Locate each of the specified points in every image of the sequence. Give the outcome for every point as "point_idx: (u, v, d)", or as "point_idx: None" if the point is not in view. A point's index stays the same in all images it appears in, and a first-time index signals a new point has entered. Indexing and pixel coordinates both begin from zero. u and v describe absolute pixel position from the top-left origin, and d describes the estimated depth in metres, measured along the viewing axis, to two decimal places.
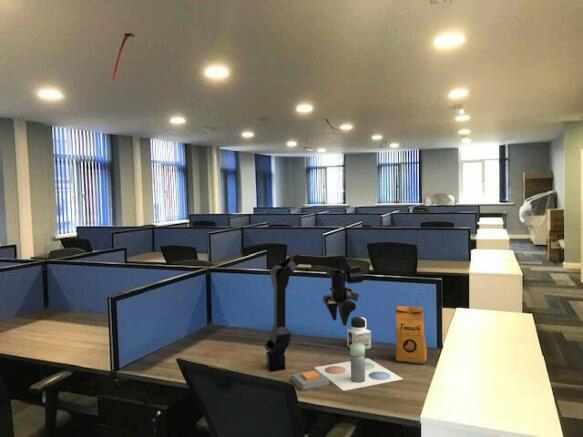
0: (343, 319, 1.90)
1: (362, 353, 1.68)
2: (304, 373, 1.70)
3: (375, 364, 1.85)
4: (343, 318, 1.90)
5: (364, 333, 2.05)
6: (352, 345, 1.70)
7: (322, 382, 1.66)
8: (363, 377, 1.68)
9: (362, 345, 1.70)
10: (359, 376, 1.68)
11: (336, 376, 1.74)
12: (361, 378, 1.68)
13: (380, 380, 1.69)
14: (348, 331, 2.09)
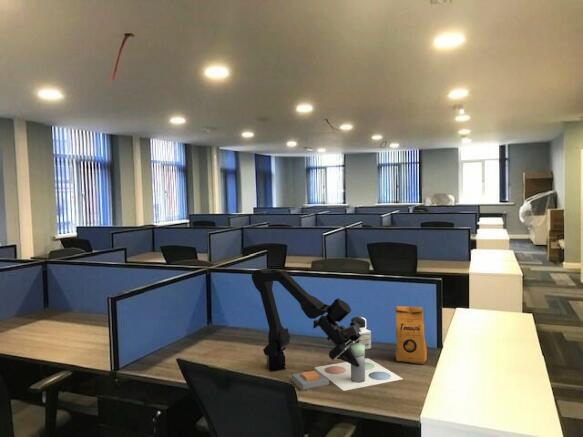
0: (350, 362, 1.67)
1: (362, 353, 1.68)
2: (304, 373, 1.70)
3: (375, 364, 1.85)
4: (349, 361, 1.67)
5: (364, 333, 2.05)
6: (352, 345, 1.70)
7: (322, 382, 1.66)
8: (363, 377, 1.68)
9: (362, 345, 1.69)
10: (359, 376, 1.68)
11: (336, 376, 1.74)
12: (361, 378, 1.68)
13: (380, 380, 1.69)
14: None
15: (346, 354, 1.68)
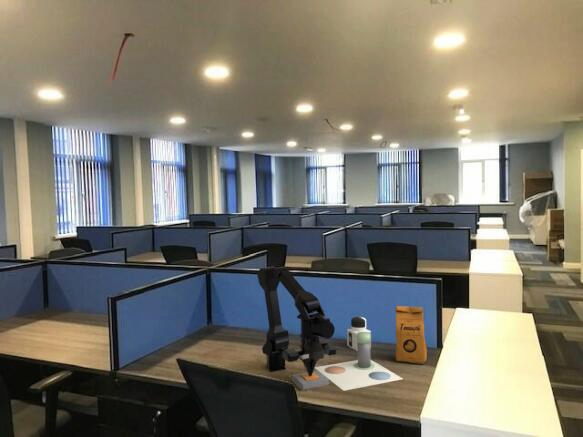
0: (305, 367, 1.70)
1: (369, 340, 1.82)
2: (304, 375, 1.70)
3: (375, 364, 1.85)
4: (305, 366, 1.70)
5: None
6: (359, 334, 1.83)
7: (322, 382, 1.66)
8: (370, 362, 1.83)
9: (367, 333, 1.84)
10: (368, 362, 1.81)
11: (336, 376, 1.74)
12: (369, 363, 1.82)
13: (380, 380, 1.69)
14: (348, 331, 2.09)
15: None
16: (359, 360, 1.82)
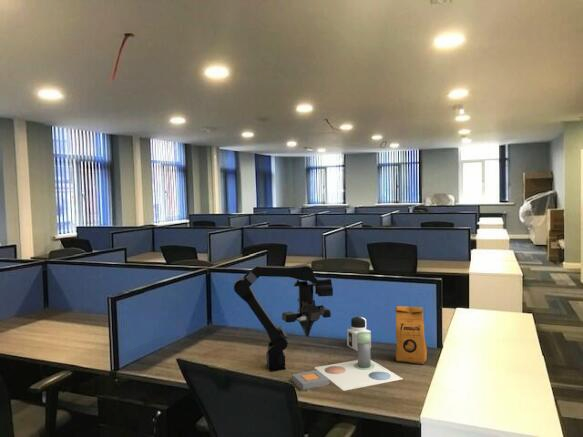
0: (302, 328, 1.87)
1: (369, 340, 1.82)
2: (304, 376, 1.70)
3: (375, 364, 1.85)
4: (302, 328, 1.87)
5: None
6: (359, 334, 1.83)
7: (322, 382, 1.66)
8: (370, 362, 1.83)
9: (367, 333, 1.84)
10: (368, 362, 1.81)
11: (336, 376, 1.74)
12: (369, 363, 1.82)
13: (380, 380, 1.69)
14: (348, 331, 2.09)
15: None
16: (359, 360, 1.82)
